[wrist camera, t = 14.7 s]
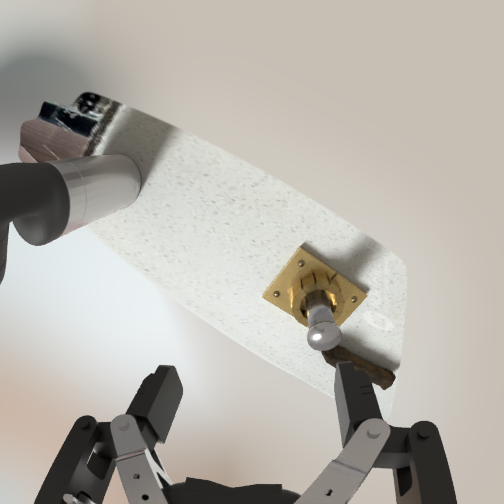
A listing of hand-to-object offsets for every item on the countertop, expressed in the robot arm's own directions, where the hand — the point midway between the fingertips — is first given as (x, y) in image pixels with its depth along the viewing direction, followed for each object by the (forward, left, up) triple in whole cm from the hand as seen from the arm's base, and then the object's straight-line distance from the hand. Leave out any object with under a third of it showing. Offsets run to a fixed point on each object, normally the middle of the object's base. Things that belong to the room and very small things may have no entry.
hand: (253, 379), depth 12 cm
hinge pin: (+6, -12, -29) cm, 32 cm away
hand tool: (+14, -28, -31) cm, 44 cm away
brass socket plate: (+6, -12, -30) cm, 33 cm away
